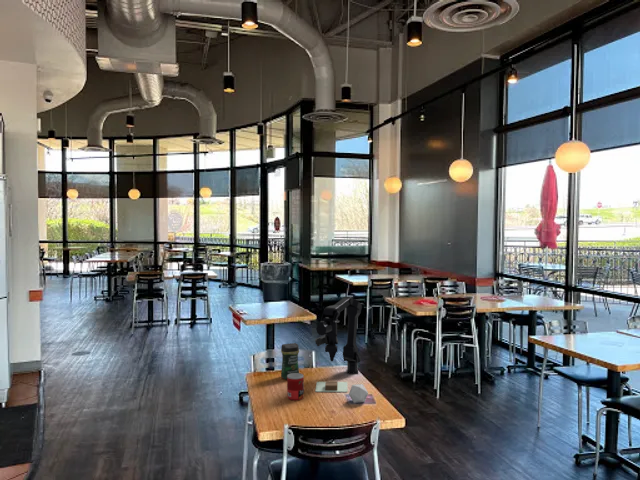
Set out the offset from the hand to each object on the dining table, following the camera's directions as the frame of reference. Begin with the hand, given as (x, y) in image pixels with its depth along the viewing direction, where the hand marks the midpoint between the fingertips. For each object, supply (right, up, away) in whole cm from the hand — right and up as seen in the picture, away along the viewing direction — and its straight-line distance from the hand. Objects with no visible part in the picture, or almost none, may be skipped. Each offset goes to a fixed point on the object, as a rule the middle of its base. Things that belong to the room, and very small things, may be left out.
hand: (331, 361), depth 244 cm
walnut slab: (0, -11, -4) cm, 11 cm away
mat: (0, -12, -5) cm, 13 cm away
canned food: (-18, -13, -19) cm, 29 cm away
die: (+12, -13, -24) cm, 30 cm away
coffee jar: (-22, -12, +12) cm, 28 cm away
